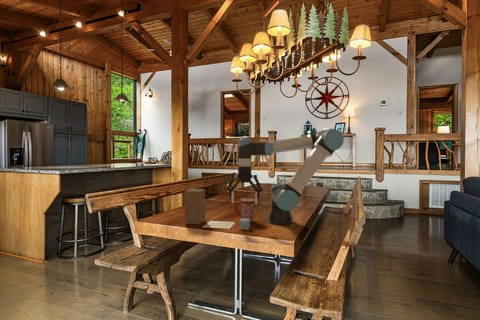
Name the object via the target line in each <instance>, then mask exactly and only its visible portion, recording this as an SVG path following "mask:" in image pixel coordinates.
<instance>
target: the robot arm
mask: <svg viewBox="0 0 480 320" xmlns="http://www.w3.org/2000/svg"><path fill="white" fill-rule="evenodd" d="M344 141H345V140H344V135H343V133H342V132H341V131H340V130H339V129H336V128H328V129H325V130H324V129H323V130H320V131H317V132H314V133H309V134H307V136H306V135H305V136H298V137H292V138H286V139H285V138H284V139H277V140H270V141H260V142H255V141H253V140H252V138H239V139H238V142H237V143H238V144H237V145H238V147H237V152H238V153H237V155H238V156H237V157H238V158H237V165H238V166H237V174H235V173H233V174H232V176H231V179H230V182H229V184H228V185H227V188H226V191H228V192H229V197H230V198H231V204H234V203H235V190H234V189H236V187H237V186H239V184H240V183H248V184H249V185H250V186H251V187H252V188H253V190H255V195H254V196H255V197H254V198H255V199H254V200H255V202H254V205H258V199H260V193H261V192H263V188H262V185H261V183H260V181H259V179H258V175H257V174H254V175H253V174H252V156H259V157H260V156H261V157H262V156H266V157H269V156H272V155H273V154H278V153H285V152H293V151H300V150H310V151H311V152H310V153H309V155H307V157H306V158H305V160H304V161H303V162H302V164H301V165H300V166H299V168H298V169H297V171H296V172H295V174H293V176H292V177H291V178H290V180H289V181H285V182H284V183H283V184H272V185H271V188H270V192H271V193H270V194H271V195H270V196H271V197H270V199H271V201H270V203H271V204H270V211H269V214H268V217H267V218H268V223H269V224H273V225H290V224H292V223H294V218H293V214H292V211H293V210H295V209H296V208H297V206H298V205H299V200H300V198H301V197H302V195H303V192H302V191H303V190H304V188H305V187H306V185H307V184H308V183H309V182H310V180H311V179H312V178H313V176H314V175H315V174H316V172H317V171H318V170H319V169H320V167H321V166H322V164H323V163H324V162H325V160H326V159H327V158H328V157H332V156H333V154H334V152H336V150H339V149H341V147H342V146H343V145H344ZM235 179H238V180H237V181H236V182H235ZM252 179H253V180H254V181H255V183H256V185H255V183H254V181H253V180H252ZM234 182H235V183H234ZM233 183H234V185H233Z"/></svg>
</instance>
